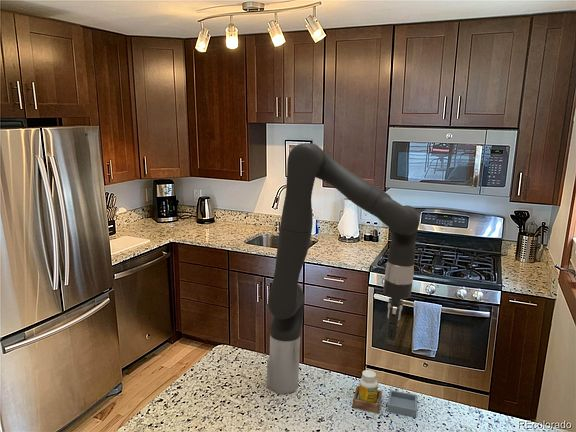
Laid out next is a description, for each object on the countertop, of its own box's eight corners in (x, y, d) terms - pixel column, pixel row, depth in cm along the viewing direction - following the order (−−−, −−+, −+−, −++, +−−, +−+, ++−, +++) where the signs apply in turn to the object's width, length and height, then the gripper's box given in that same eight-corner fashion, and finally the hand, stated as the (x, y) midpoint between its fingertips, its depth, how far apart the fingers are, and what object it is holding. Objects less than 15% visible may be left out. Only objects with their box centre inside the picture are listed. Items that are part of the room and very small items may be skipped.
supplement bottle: (367, 395, 133) (369, 366, 131) (380, 404, 129) (382, 375, 127) (354, 401, 130) (356, 371, 128) (366, 410, 126) (369, 380, 124)
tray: (387, 411, 126) (387, 404, 125) (389, 396, 133) (389, 389, 133) (416, 417, 124) (416, 410, 123) (416, 401, 131) (417, 395, 131)
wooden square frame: (352, 407, 127) (352, 399, 127) (356, 393, 134) (356, 385, 134) (378, 413, 125) (379, 405, 124) (381, 398, 132) (381, 390, 132)
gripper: (386, 268, 128) (380, 320, 131) (382, 284, 115) (376, 341, 118) (413, 272, 126) (406, 324, 129) (412, 289, 113) (404, 347, 116)
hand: (392, 332), depth 124 cm, fingers open, 8 cm apart
